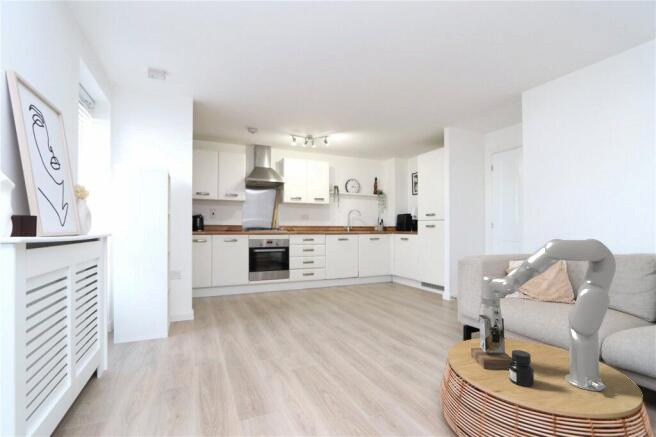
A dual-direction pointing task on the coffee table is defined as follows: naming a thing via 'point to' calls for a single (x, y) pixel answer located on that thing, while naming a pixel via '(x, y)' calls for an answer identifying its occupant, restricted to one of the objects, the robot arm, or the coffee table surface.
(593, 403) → the coffee table surface
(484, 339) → the coffee box
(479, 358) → the walnut block
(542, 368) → the coffee table surface
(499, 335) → the robot arm
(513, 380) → the ink bottle
